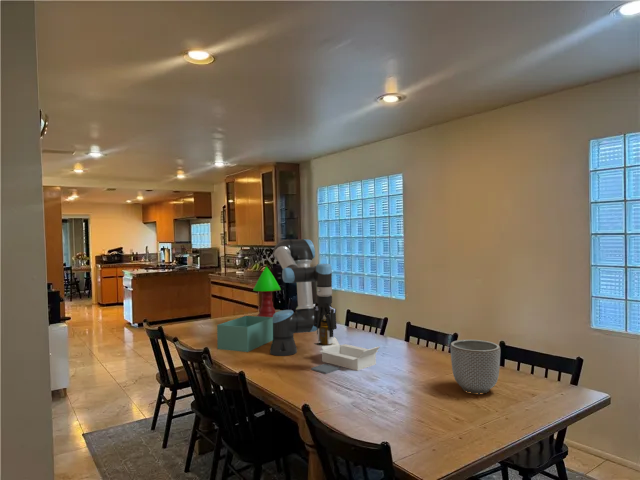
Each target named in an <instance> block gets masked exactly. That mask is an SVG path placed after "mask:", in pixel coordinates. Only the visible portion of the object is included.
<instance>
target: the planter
mask: <svg viewBox="0 0 640 480" xmlns="http://www.w3.org/2000/svg"><path fill="white" fill-rule="evenodd" d="M449 349H450V357H451V359H450V361H451V362H450V363H451V369H452V370H451V371H452V375H453V377H454V380H455V382H456V383H457V384H458V386H459V387H461V389H462V390H463V392H465V391H467V392H471V393H478V394H477V395H481V394H480V393H486V394H488V393H489V392H490V390H491V389H493V387H495V386H496V384H497V383H498V379H499V376H500V375H499V374H500V366H501V347H500V345H499V344H497V343H495V342H492V341H487V340H481V339H457V340H454V341H452V342H450V348H449ZM467 392H466V393H467ZM487 392H488V393H487ZM471 393H470V394H471Z"/></svg>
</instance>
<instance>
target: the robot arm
mask: <svg viewBox="0 0 640 480" xmlns="http://www.w3.org/2000/svg"><path fill="white" fill-rule="evenodd" d="M273 257H274V259H275V260H276V261H277V262H278V263H279V265H280V267H281V269H282V270H281V271H282V274H281V277H282V281H283V283H287V284H288V283H289V284H294V283H295V284H296V293H297V294H296V295H297V306H296V308H295V312H294V310H292V309H283V310H279V311H275V313H274V314H273V321H272V323H273V341H271V345H270V348H269V354H271V356H276V357H277V356H280V357H283V356H287V357H288V356H292V355H295V354H297V352H298V349H297V345H296V341H295V339H294V334H301V333H313V332H314V333H315V332H316V335H317V343H319V342H320V325H321V320H322V319H324V317H325V319H326V320H327V324H328V329H329V330H327V334H328V344H331V343H333V338H334V330H337V314H336V313H337V308H333V307H332V303H333V281H332V280H333V279H332V278H333V275H332V274H333V270H332V269H333V268H332V264H330V263H318V264H316V266H311V264H312V262H313V260H314V259H315V257H316V249H315V246H314V243H313V242H312V240H311V239H307V238H306V239H304V238H300V239H299V238H298V239H295V238H294V239H283V240H281V241H279V242H278V243H277V244H275V245H274V248H273ZM313 282H316V295H317V296H316V303H317V305H316V306H314V302H313V288H312V283H313Z"/></svg>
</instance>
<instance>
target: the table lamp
mask: <svg viewBox="0 0 640 480" xmlns="http://www.w3.org/2000/svg"><path fill="white" fill-rule="evenodd" d="M252 289H253V290H252V291H253V292H256V293H257V292H258V293H259V292H261V299H262V300H261V307H260V308H259V312H258V314H257V315H256V316H260V317H273V314H274V313H276V309H275V307H274V302H273V292H278V291H281V290H282V289H281V286H280V285H279V283H278V281H277V280H276V278H275V276H274V275H273V273H272V272H271V270H270V269H269V268H268V266H265V267H264V270H263V271H262V272H261V274H260V276H259V277H258V279H257V281H256V284H255V285H254V287H253V288H252Z"/></svg>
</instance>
